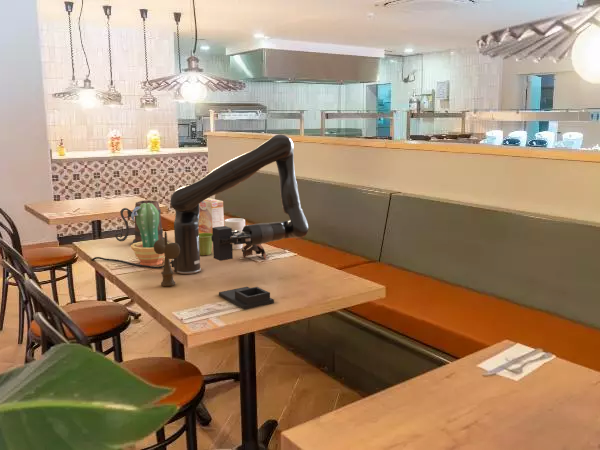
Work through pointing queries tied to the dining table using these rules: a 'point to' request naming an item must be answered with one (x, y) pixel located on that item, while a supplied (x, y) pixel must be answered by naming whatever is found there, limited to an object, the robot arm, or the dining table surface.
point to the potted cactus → (147, 234)
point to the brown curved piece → (256, 248)
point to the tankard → (136, 231)
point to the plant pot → (205, 243)
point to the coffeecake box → (210, 215)
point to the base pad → (247, 297)
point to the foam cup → (235, 228)
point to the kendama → (167, 259)
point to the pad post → (225, 249)
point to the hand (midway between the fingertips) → (215, 240)
